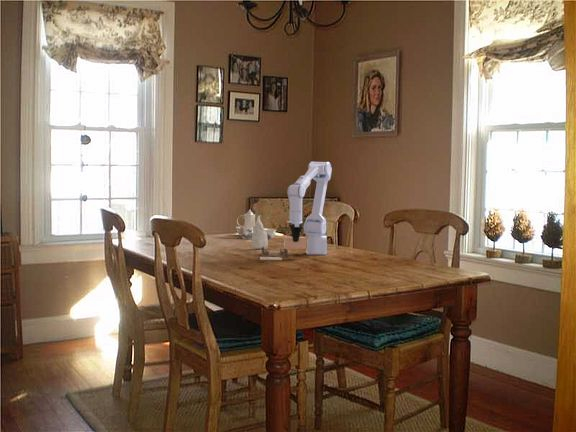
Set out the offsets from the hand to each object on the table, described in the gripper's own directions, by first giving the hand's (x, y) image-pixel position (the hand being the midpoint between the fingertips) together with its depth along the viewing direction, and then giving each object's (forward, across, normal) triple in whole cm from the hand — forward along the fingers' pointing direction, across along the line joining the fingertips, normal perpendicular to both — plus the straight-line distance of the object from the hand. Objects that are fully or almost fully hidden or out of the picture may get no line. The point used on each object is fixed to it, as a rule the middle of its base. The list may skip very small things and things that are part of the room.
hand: (295, 241), depth 314 cm
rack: (+8, -8, -9) cm, 15 cm away
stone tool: (+8, -29, -16) cm, 34 cm away
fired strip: (+9, +2, -11) cm, 14 cm away
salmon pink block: (+3, 0, 0) cm, 3 cm away
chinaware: (+9, -74, -18) cm, 77 cm away
